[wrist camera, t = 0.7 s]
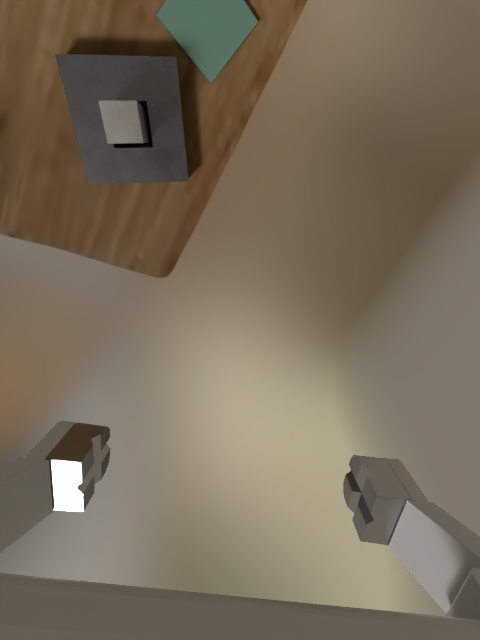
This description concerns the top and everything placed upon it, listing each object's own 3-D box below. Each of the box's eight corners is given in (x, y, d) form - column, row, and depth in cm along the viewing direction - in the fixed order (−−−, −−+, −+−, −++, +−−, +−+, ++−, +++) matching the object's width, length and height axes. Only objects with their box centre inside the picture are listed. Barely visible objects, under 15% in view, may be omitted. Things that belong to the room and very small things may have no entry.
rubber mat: (156, 16, 36) (156, 15, 36) (205, -57, 34) (205, -60, 33) (210, 84, 40) (211, 83, 40) (257, 23, 38) (258, 21, 38)
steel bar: (121, 142, 42) (107, 143, 34) (114, 108, 40) (98, 100, 32) (149, 142, 43) (143, 143, 34) (144, 108, 41) (136, 100, 32)
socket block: (94, 182, 44) (89, 184, 42) (63, 59, 37) (54, 53, 34) (188, 178, 46) (188, 181, 44) (176, 62, 39) (176, 56, 36)
